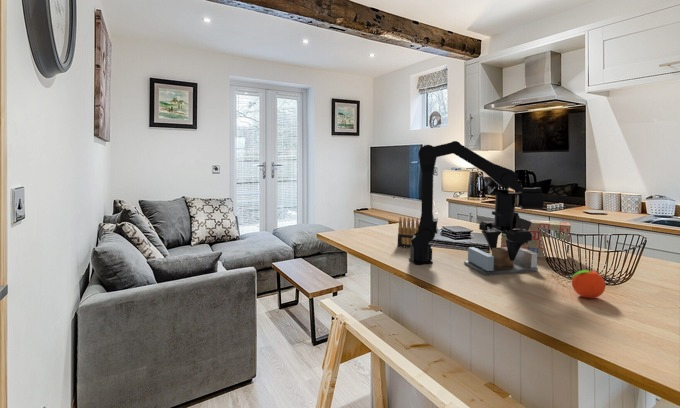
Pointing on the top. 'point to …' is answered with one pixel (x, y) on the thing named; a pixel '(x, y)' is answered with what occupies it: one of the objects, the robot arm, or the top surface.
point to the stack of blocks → (536, 242)
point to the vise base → (522, 263)
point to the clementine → (588, 283)
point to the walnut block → (501, 256)
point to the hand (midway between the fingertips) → (502, 256)
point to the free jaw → (480, 258)
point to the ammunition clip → (406, 232)
